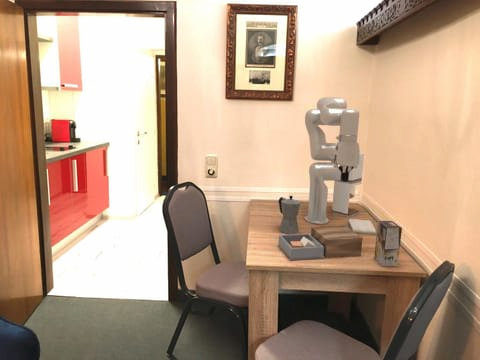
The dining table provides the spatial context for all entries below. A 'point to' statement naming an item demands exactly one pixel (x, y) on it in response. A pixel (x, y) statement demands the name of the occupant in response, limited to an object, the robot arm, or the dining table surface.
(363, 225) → the washcloth
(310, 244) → the tile
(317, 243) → the box
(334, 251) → the block
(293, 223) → the coffeepot
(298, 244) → the tile
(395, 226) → the coffee box
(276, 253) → the dining table surface
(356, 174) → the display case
